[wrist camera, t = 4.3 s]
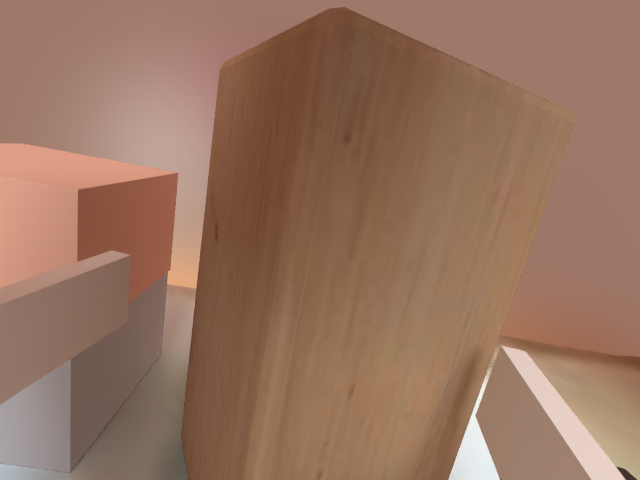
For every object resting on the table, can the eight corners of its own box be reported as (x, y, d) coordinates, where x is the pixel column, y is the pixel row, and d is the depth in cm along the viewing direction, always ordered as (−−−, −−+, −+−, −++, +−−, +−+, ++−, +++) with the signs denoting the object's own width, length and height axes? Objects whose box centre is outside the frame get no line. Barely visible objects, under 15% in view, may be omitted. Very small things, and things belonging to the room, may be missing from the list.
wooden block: (179, 435, 20) (218, 58, 15) (327, 400, 25) (394, 111, 20) (217, 669, 11) (336, -10, 6) (429, 546, 16) (587, 110, 12)
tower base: (161, 355, 26) (167, 270, 25) (70, 474, 17) (70, 348, 15) (26, 334, 26) (23, 245, 24) (-148, 444, 16) (-174, 310, 14)
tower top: (170, 270, 25) (178, 172, 23) (76, 347, 15) (77, 189, 13) (27, 245, 24) (24, 143, 22) (-166, 309, 15) (-198, 139, 13)
